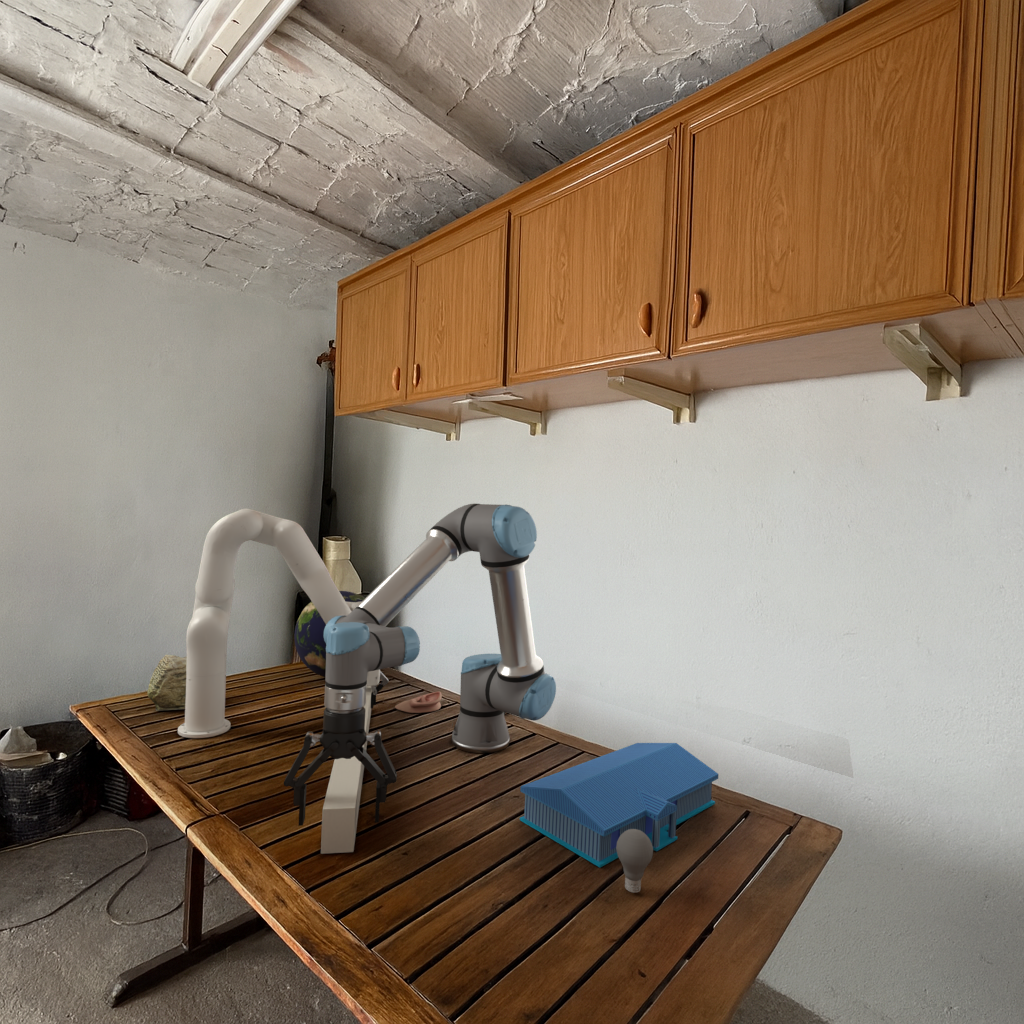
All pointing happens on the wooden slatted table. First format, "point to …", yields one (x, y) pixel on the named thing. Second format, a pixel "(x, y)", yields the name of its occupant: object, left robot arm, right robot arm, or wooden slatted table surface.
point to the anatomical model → (421, 703)
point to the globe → (315, 635)
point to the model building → (619, 799)
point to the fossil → (169, 683)
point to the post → (344, 799)
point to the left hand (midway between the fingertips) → (360, 706)
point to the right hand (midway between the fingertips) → (339, 820)
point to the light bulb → (634, 857)
